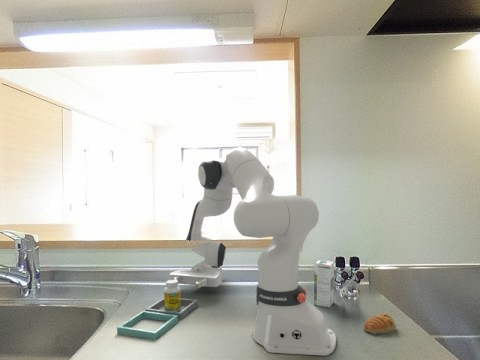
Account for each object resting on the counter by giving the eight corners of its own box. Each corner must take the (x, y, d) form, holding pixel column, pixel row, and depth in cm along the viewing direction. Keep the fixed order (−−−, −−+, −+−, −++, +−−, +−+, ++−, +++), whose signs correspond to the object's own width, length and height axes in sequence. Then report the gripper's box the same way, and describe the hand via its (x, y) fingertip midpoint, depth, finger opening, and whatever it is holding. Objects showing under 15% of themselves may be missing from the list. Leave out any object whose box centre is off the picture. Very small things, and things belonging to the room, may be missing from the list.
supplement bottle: (176, 305, 119) (176, 278, 119) (183, 310, 115) (182, 281, 115) (161, 309, 116) (161, 280, 116) (167, 314, 112) (167, 284, 112)
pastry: (377, 338, 94) (377, 324, 94) (357, 330, 100) (357, 316, 100) (398, 330, 99) (397, 317, 99) (377, 322, 105) (377, 309, 105)
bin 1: (178, 321, 106) (177, 315, 106) (155, 339, 94) (155, 333, 94) (142, 316, 110) (142, 310, 110) (117, 333, 98) (117, 327, 98)
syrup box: (317, 299, 124) (317, 259, 124) (334, 302, 121) (334, 261, 121) (313, 305, 119) (313, 263, 118) (331, 308, 116) (331, 265, 116)
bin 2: (197, 305, 120) (197, 300, 120) (180, 319, 108) (180, 313, 108) (165, 301, 124) (165, 296, 124) (145, 314, 112) (145, 309, 112)
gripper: (178, 264, 141) (160, 273, 128) (225, 267, 134) (211, 277, 121) (178, 279, 141) (160, 290, 128) (225, 284, 134) (211, 295, 121)
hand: (185, 284), depth 124 cm, fingers open, 8 cm apart
